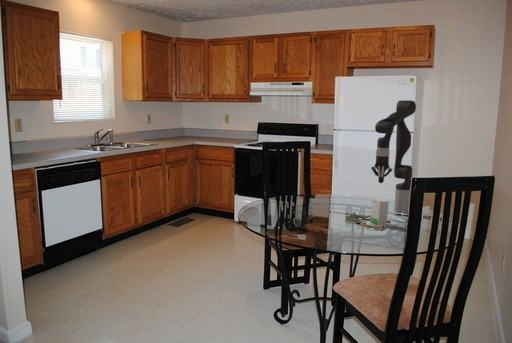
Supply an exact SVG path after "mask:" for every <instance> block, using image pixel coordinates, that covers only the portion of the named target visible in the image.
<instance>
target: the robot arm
mask: <svg viewBox="0 0 512 343" xmlns="http://www.w3.org/2000/svg"><path fill="white" fill-rule="evenodd" d="M416 104H417V103H416V101H414V100H407V99H406V100H403V99H402V100H398V101H397V103H396V107H395V110H396V111H394V112H392V113H391V114H390V115H388V116H387V117H385V118H382V119H380V120H378V121H377V122H376V124H375V125H374V129H375V132H376V133H377V134H384V136H382V137H378V139H377V141H376V142H377V144H376V145H377V146H376V147H377V148H376V152H375V164H374V166H371V170H372V172H373V173H374V176H377V177H378V179H377V180H378V184H383V183H384V180H385V178H386V177H387V176H388V175H390V173H391V172H392V171H393V175H394V178H395V179H400V180H403V179H404V181H403V182H401V183H397V184H395V195H394V211H393V213H394V212H396V213H403V214H408V207H409V208H410V202H409V196H410V197H411V186H412V180H411V179H412V178H413V167H412V165H407V164H402V162H403V158H404V157H405V155H406V153H407V152H408V151H409V150H410V147H411V146H412V134H411V132H410V130H409V128H408V126H407V124H406V122H405V119H406V118H408V117H410V116H412V115H413V114H414V113H415V112H416V111H417V110H416V109H417V105H416ZM395 127H396V134H395V135H396V136H395V159H394V167H393V168H391V167H390V142H391V139H392V138H391V137H392V135H393V133H394V131H395V130H394V129H395Z"/></svg>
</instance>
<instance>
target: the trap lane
mask: <svg viewBox="0 0 512 343" xmlns="http://www.w3.org/2000/svg"><path fill="white" fill-rule="evenodd" d="M368 217H371V214H367V215H362V214H357V213H356V211H353V212H351V213H349V214H347V215H345V222H346V221H347V222H346V223H348V222H354V223H360V225H359V227H360V226H362V227H367V228H374V229H378V230H377V231H380V230H379V229H381V228H383V229H385V226H384V225H383V224H381V225H380V226H375V225H373V224H367V221H366V220H359V219H352V218H362V219H366V218H368ZM354 223H353V224H354ZM387 223H390V224H391V220H388V219H387ZM362 227H361V228H362ZM367 228H366V229H367ZM381 230H382V229H381Z"/></svg>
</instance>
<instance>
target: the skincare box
mask: <svg viewBox="0 0 512 343" xmlns="http://www.w3.org/2000/svg"><path fill="white" fill-rule="evenodd" d="M388 212H389V200H387V199H383V198H381V197H380V198H379V197H378V198H372V199H371V208H370V215H371V217H370V220H369V223H370V222H371V223H373V224H375V225H377V226H380V225H381V224H383V225H384V227H386V226H387V225H388V224H387V220H388V214H389V213H388ZM373 224H372V225H373ZM375 225H374V226H375ZM385 225H386V226H385Z"/></svg>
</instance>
